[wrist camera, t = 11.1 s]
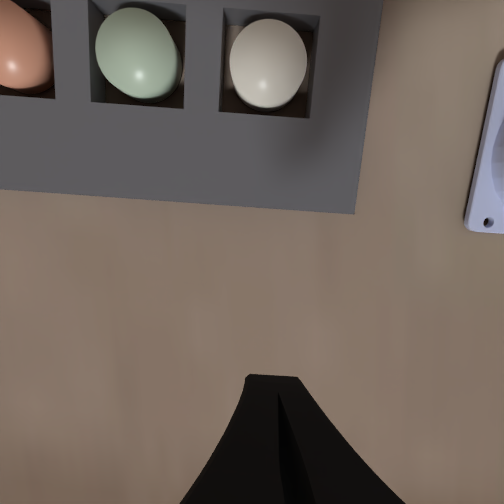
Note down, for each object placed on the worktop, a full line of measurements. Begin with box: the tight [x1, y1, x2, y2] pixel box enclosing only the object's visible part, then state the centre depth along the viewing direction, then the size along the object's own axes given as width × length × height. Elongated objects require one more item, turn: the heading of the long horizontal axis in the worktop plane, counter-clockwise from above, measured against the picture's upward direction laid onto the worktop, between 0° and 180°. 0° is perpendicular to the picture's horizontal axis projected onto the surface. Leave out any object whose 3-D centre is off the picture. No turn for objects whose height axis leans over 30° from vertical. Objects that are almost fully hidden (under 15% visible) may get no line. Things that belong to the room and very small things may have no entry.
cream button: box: [230, 19, 307, 112], centre depth 14 cm, size 3×3×2 cm
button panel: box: [0, 0, 383, 214], centre depth 15 cm, size 20×12×2 cm, turn 86°
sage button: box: [95, 8, 182, 103], centre depth 14 cm, size 3×3×2 cm
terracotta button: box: [0, 0, 55, 94], centre depth 14 cm, size 3×3×2 cm
